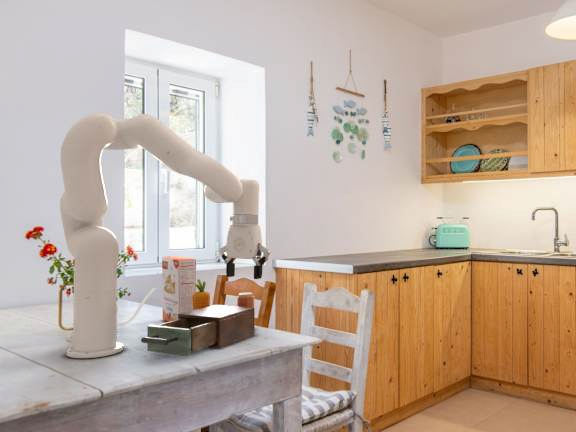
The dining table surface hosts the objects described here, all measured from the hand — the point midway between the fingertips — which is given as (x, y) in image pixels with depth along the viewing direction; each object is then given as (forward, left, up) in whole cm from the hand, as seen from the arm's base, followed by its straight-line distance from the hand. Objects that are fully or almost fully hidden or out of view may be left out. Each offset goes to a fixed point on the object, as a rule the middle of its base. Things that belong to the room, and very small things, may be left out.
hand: (243, 277), depth 158 cm
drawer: (0, -27, -15) cm, 31 cm away
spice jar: (0, +1, -16) cm, 16 cm away
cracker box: (-26, +1, -16) cm, 30 cm away
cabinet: (0, -13, -16) cm, 20 cm away
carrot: (-13, -4, -16) cm, 21 cm away
